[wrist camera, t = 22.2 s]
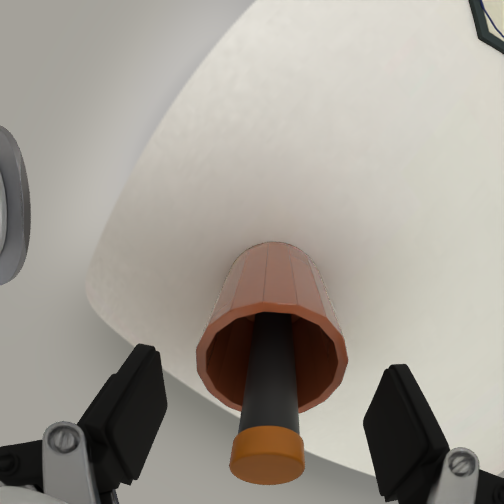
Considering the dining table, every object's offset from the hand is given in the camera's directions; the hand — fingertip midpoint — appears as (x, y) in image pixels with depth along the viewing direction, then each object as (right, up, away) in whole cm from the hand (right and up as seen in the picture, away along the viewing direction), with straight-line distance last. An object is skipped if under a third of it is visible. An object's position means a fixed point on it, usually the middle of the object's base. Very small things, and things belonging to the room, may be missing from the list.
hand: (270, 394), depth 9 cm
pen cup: (+1, +3, +9) cm, 9 cm away
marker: (+1, +3, +8) cm, 9 cm away
